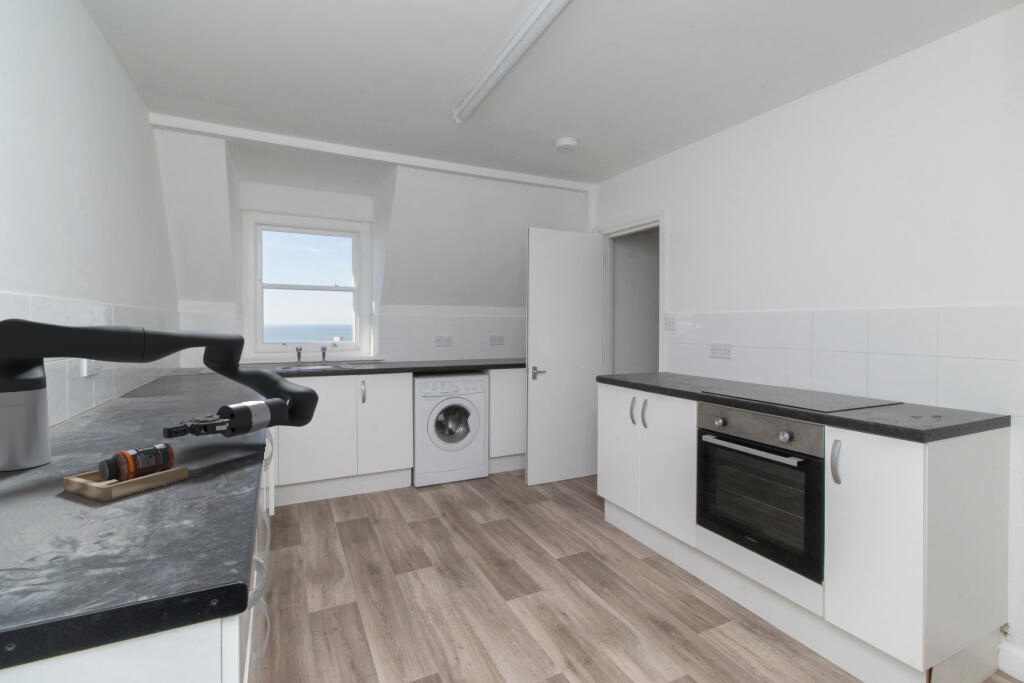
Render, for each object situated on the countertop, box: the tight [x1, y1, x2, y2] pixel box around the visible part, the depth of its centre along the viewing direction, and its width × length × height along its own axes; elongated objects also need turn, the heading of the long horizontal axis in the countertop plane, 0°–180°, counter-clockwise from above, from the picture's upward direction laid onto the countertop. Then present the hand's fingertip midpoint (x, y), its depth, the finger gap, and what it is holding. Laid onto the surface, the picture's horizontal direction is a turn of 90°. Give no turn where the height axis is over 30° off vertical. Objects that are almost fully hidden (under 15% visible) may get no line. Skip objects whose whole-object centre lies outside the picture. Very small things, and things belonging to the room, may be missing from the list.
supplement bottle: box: [98, 442, 175, 482], centre depth 98 cm, size 6×6×11 cm
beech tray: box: [62, 465, 189, 503], centre depth 95 cm, size 15×14×2 cm
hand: (165, 433), depth 101 cm, fingers closed
